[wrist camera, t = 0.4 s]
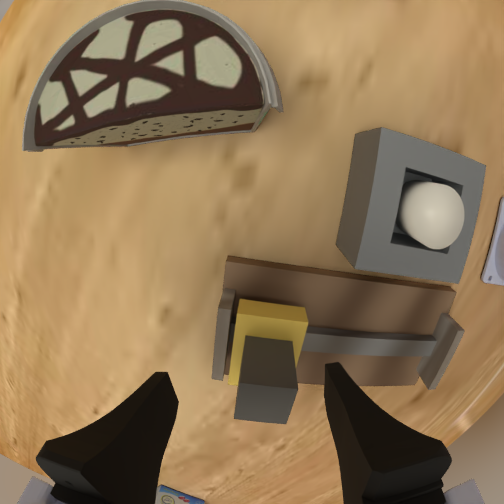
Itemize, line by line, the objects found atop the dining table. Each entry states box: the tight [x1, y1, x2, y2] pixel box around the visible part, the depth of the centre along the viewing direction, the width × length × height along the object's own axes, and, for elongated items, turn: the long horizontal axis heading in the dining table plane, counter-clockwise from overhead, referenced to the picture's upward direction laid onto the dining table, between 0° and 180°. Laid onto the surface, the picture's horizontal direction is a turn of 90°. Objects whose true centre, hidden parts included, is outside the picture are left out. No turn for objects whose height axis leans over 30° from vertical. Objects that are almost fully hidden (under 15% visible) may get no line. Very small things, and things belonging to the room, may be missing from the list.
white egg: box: [395, 180, 464, 249], centre depth 15 cm, size 4×4×3 cm
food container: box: [22, 0, 283, 152], centre depth 13 cm, size 12×6×10 cm, turn 93°
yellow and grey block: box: [228, 299, 308, 424], centre depth 18 cm, size 4×6×7 cm
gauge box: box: [336, 127, 486, 284], centre depth 17 cm, size 8×8×5 cm
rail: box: [212, 256, 464, 390], centre depth 21 cm, size 19×10×4 cm, turn 82°
